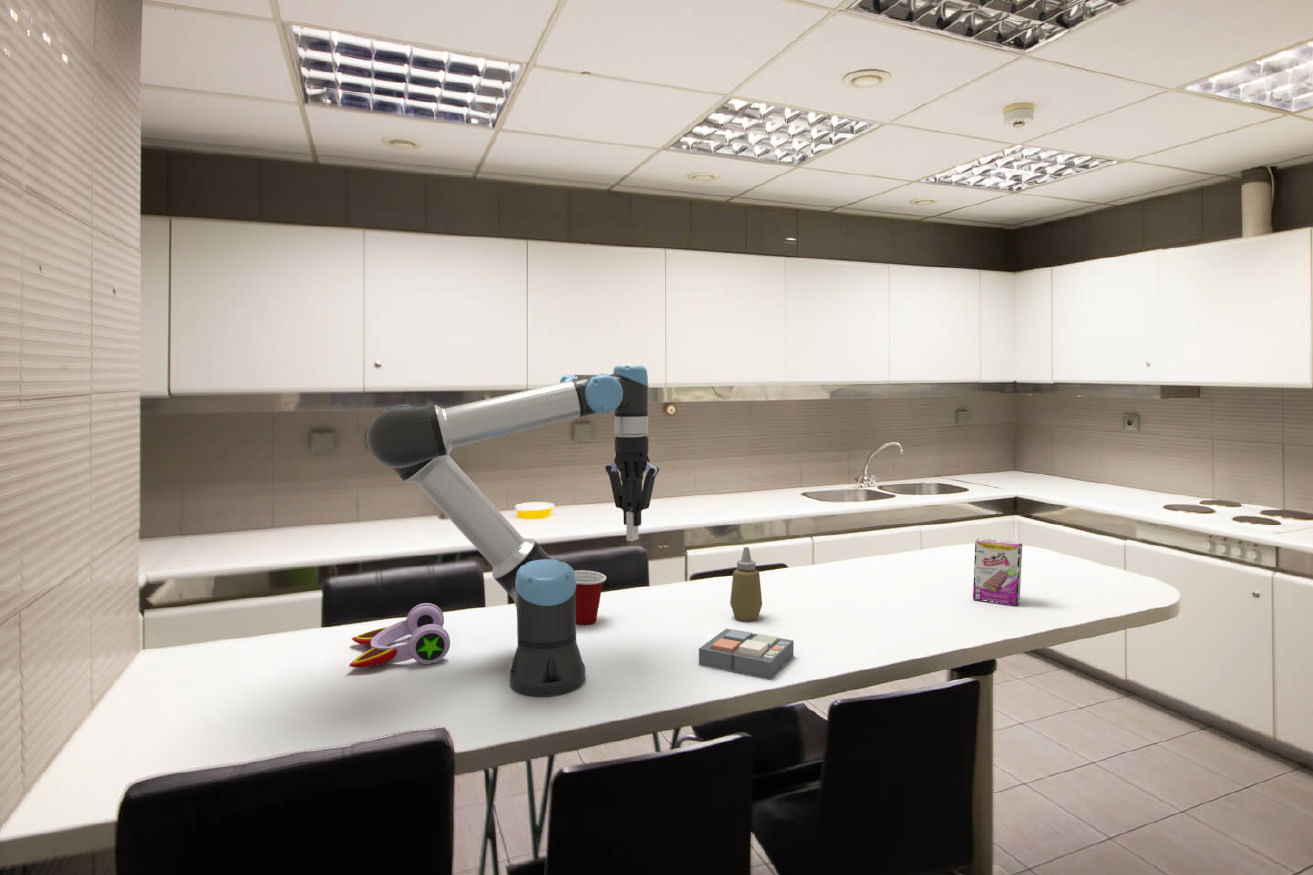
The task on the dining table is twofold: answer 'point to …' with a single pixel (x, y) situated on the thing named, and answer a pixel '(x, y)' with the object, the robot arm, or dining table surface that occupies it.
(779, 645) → the keypad
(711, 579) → the dining table surface
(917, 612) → the dining table surface
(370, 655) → the headphones
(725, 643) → the key terracotta
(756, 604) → the squeeze bottle
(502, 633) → the dining table surface
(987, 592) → the candy bar box
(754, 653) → the key cream
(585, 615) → the plastic cup
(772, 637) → the key sage
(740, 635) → the key slate
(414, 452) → the robot arm
